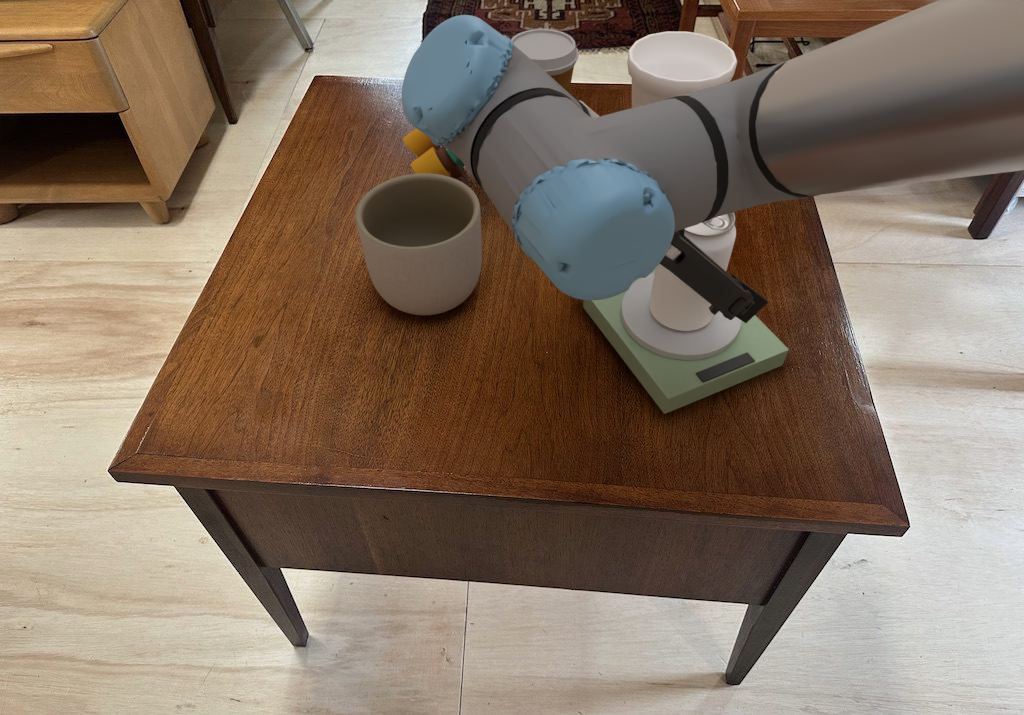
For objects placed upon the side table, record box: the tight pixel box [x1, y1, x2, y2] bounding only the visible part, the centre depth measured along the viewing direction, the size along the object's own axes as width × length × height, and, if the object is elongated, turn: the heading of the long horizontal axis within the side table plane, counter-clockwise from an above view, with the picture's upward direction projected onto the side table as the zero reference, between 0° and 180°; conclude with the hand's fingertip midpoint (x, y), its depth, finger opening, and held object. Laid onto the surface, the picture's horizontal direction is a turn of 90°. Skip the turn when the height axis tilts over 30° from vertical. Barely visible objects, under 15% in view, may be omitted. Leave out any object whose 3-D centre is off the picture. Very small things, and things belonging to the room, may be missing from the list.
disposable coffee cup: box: [511, 28, 580, 94], centre depth 96 cm, size 10×10×12 cm
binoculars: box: [402, 127, 472, 189], centre depth 85 cm, size 14×14×15 cm
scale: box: [582, 268, 790, 415], centre depth 73 cm, size 16×14×3 cm
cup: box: [626, 30, 738, 108], centre depth 87 cm, size 12×12×15 cm
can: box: [649, 212, 737, 331], centre depth 67 cm, size 6×6×12 cm
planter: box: [354, 173, 483, 316], centre depth 75 cm, size 12×12×11 cm
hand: (710, 265), depth 68 cm, fingers open, 13 cm apart
